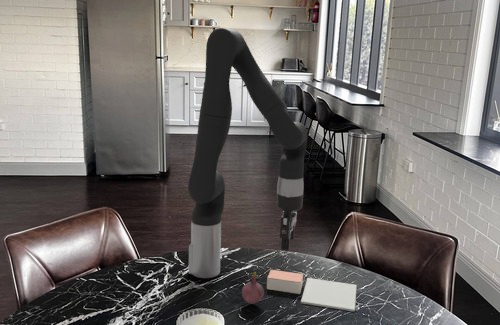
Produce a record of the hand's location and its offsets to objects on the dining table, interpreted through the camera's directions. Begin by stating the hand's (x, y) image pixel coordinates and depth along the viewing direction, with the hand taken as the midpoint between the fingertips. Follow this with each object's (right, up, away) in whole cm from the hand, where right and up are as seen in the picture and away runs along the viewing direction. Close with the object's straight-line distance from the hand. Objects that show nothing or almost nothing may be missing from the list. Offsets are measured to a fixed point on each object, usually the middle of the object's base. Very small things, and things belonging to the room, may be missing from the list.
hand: (287, 244), depth 142 cm
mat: (+12, -15, 0) cm, 19 cm away
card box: (-1, -14, +3) cm, 14 cm away
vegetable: (-11, -16, -7) cm, 20 cm away
